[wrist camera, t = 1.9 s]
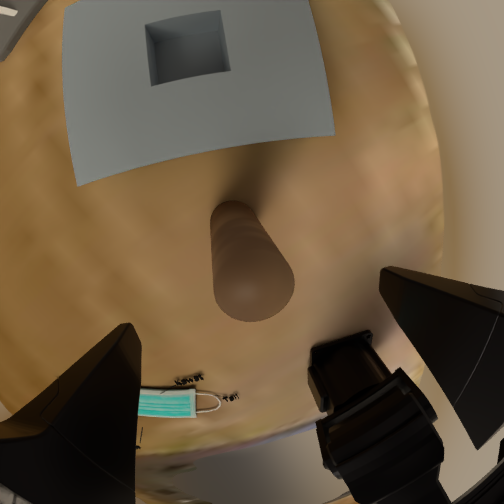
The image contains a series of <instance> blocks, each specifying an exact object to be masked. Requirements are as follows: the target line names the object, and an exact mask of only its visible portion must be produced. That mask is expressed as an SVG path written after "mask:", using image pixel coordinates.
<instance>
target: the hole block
mask: <svg viewBox="0 0 504 504" xmlns="http://www.w3.org/2000/svg"><path fill="white" fill-rule="evenodd" d="M62 75H63V94H64V106H65V116H66V124H67V132H68V139H69V145H70V151H71V157H72V162H73V167H74V172H75V177H76V181H77V186H81V185H84V184H87V183H90V182H93V181H96V180H99V179H102V178H105V177H108V176H111V175H114V174H118V173H121V172H124V171H128V170H131V169H135V168H139V167H142V166H146V165H150V164H154V163H158V162H162V161H166V160H170V159H174V158H178V157H183V156H187V155H192V154H197V153H202V152H207V151H212V150H217V149H223V148H229V147H235V146H241V145H247V144H254V143H261V142H269V141H277V140H286V139H295V138H306V137H319V136H334V135H335V128H334V120H333V113H332V107H331V100H330V94H329V88H328V83H327V77H326V72H325V67H324V62H323V57H322V52H321V48H320V43H319V39H318V35H317V31H316V27H315V23H314V19H313V15H312V12H311V8H310V5H309V1H308V0H80V1H78V2H76V3H74V4H72V5H70V6H68V7H66V8H65V12H64V24H63V42H62Z"/></svg>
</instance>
